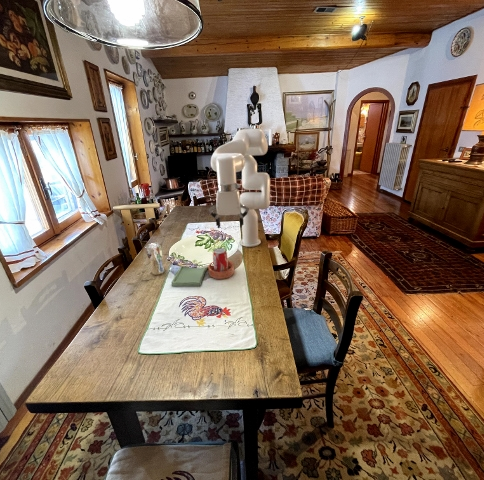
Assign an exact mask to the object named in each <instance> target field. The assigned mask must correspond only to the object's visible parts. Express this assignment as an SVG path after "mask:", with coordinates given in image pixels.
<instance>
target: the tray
mask: <svg viewBox="0 0 484 480" xmlns="http://www.w3.org/2000/svg"><path fill="white" fill-rule="evenodd" d="M207 269H208V267H207V268H202V269H196V268H189V267H182V266H181V265H180V267H179V269H178V270H177V272H176V274H175V276H174V277H173V279H172V281H171V286H172V287H201V284H202V282H203V280H204V277H205V274H206V271H207Z"/></svg>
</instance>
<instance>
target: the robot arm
mask: <svg viewBox="0 0 484 480" xmlns="http://www.w3.org/2000/svg"><path fill="white" fill-rule="evenodd" d="M266 137H267V136H266V135H265V133H264V131H263V130H262V129H260V128H243V129H240V130H238V131H236V133H235V135H234V136H233V138H232V140H230V141H228V142H226V143H224V144H222V145H220V146H218V147H217V148H216V149H215V150H214V152H213V153H212V155H211V157H210V167H211V169H212V170H213V171H214V172H216V176H217V177H216V179H217V190H216V199H215V200H216V204H214V205H212V206H211V207H209V208H208V212H209V214H210V215H211V217H213V218H214V220H215V225H216V226H217V228H218V229H220V228H221V218H220V217H221V216H238V217H239V228H240V229H241V233H242V239H240V241H239V243H240V245H241V246H243V247H245V248H254V247H258V246H259V245H261V243H262V242H261V239H260V238H259V221H258V220H259V217H258V213H257V212H256V210H267V209H269V207H270V203H271V178H270V174H268V173H267V172H258V163H257V160H256V159H255V158H254V156H264V155H266V154H267V152H268V150H269V149H268V148H269V144H268V140H267V138H266ZM239 172H241V184H240V183H237V173H239ZM241 186H242V188H243V189H244V190H247V191H245V192H242V193H240V190H239V188H240V189H241ZM257 191H259V192H257ZM260 191H261V192H260ZM214 210H216V212H214Z"/></svg>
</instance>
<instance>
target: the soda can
mask: <svg viewBox="0 0 484 480" xmlns="http://www.w3.org/2000/svg"><path fill="white" fill-rule="evenodd" d="M228 261H229V258H228V252H227V251H226V249H225V248H223V247H217V248H215V249H213V252H212V262H213V264H214V271H216V272H223V271H227V270H228Z"/></svg>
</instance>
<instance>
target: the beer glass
mask: <svg viewBox="0 0 484 480" xmlns="http://www.w3.org/2000/svg"><path fill="white" fill-rule="evenodd" d="M145 249H146V255H147V258H148V261H149V263H150V265H151V272H152V275H154V276H155V275H156V276H158V275H162V274H164V272H165V268H164V265H163V251H162V247H161V244H160V243H159V242H151V243H148V244H147V245H146V246H145Z"/></svg>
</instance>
